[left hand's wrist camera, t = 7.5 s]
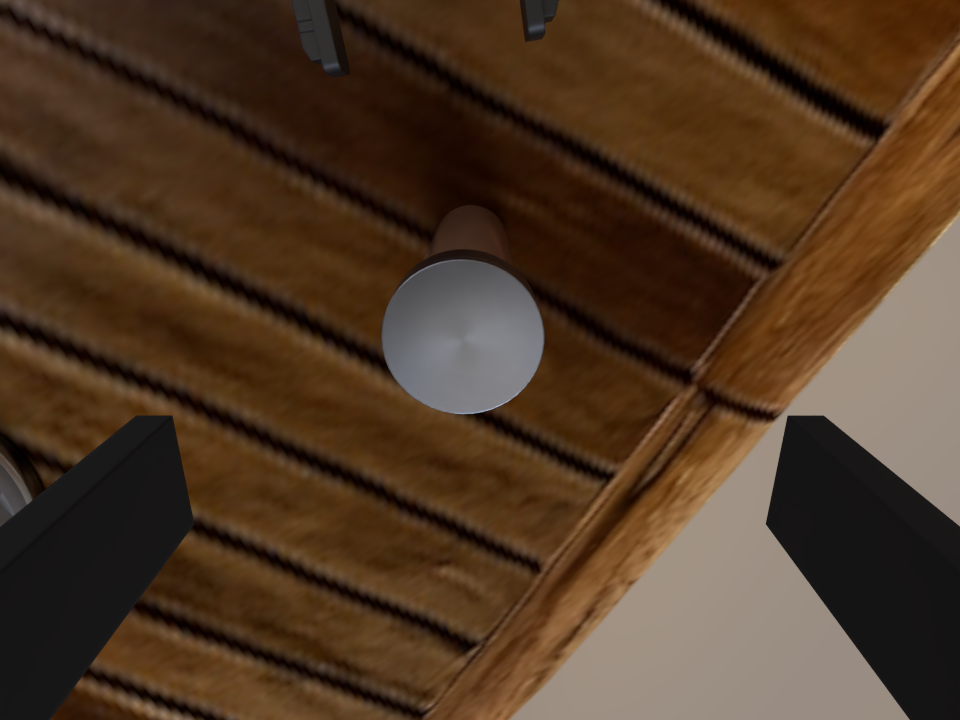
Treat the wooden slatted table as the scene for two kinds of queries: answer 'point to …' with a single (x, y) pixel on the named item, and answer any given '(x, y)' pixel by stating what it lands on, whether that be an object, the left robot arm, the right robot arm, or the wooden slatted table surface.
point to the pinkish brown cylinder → (471, 233)
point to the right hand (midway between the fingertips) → (436, 56)
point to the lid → (463, 332)
